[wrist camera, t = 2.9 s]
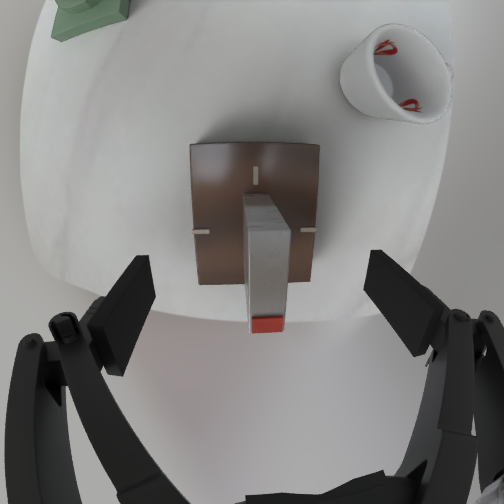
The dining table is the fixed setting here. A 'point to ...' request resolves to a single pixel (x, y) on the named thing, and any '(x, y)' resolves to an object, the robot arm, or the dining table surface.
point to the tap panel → (231, 203)
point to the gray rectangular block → (265, 263)
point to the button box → (86, 16)
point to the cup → (397, 76)
